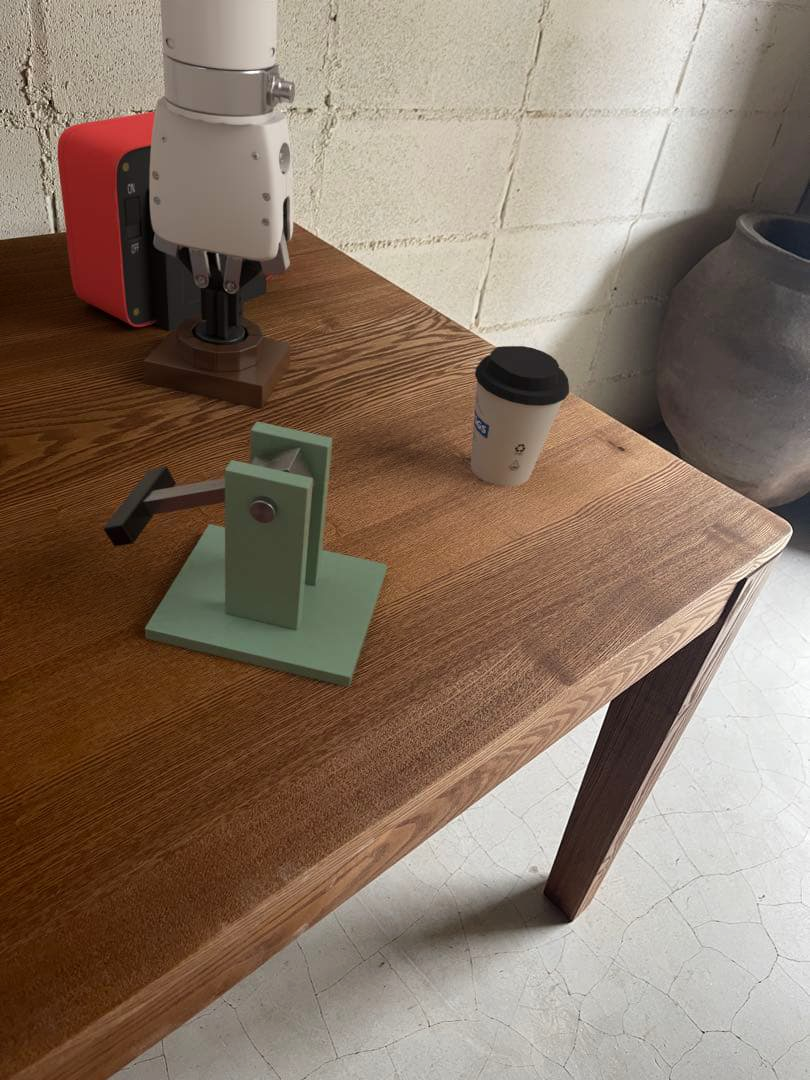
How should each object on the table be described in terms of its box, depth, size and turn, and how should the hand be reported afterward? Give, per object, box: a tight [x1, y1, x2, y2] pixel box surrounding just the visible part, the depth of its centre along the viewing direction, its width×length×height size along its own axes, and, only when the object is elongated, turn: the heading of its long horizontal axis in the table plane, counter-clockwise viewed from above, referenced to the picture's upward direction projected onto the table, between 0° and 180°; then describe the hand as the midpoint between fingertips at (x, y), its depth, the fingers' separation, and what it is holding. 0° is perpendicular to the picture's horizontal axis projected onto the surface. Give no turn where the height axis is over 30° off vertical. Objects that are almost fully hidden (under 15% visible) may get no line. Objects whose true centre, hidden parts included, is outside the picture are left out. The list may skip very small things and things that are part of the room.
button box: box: [143, 314, 292, 410], centre depth 73 cm, size 10×8×4 cm
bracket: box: [144, 421, 388, 688], centre depth 49 cm, size 12×10×12 cm
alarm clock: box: [57, 111, 273, 332], centre depth 79 cm, size 10×20×16 cm, turn 145°
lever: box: [103, 448, 315, 547], centre depth 48 cm, size 11×6×2 cm, turn 79°
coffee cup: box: [470, 345, 570, 488], centre depth 64 cm, size 7×7×10 cm
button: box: [195, 321, 245, 346], centre depth 72 cm, size 4×4×2 cm
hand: (222, 330), depth 71 cm, fingers closed
